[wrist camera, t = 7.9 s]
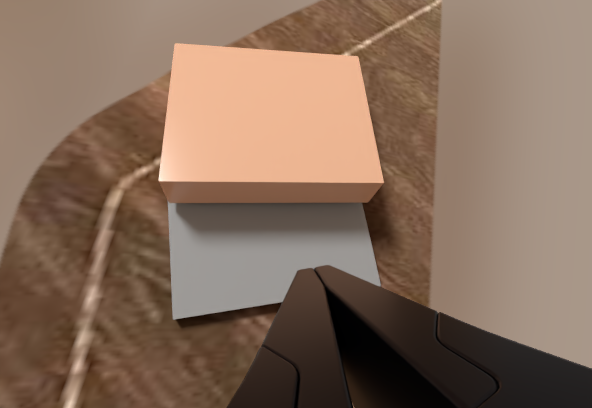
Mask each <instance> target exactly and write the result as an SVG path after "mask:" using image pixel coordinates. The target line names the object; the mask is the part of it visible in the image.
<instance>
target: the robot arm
mask: <svg viewBox="0 0 592 408" xmlns="http://www.w3.org/2000/svg"><path fill="white" fill-rule="evenodd" d="M351 400H352V401H351ZM352 402H353V405H354V407H355V408H592V369H591V368H588V367H586V366H583V365H580V364H577V363H574V362H571V361H569V360H566V359H563V358H560V357H557V356H554V355H552V354H549V353H546V352H543V351H540V350H537V349H534V348H532V347H529V346H526V345H523V344H520V343H517V342H515V341H512V340H509V339H506V338H503V337H501V336H498V335H496V334H493V333H490V332H487V331H485V330H482V329H479V328H477V327H475V326H472V325H470V324H467V323H465V322H462V321H460V320H458V319H455V318H453V317H451V316H448V315H446V314H444V313H441V312H439V313H437V311H435V310H433V309H430V308H428V307H426V306H423V305H421V304H419V303H416V302H414V301H412V300H410V299H407V298H405V297H403V296H400V295H398V294H396V293H393V292H391V291H389V290H386V289H384V288H382V287H379V286H377V285H375V284H372V283H370V282H368V281H365V280H363V279H361V278H358V277H356V276H354V275H351V274H349V273H347V272H344V271H342V270H340V269H337V268H335V267H333V266H330V265H324V266H318V267H315V268H314V269H313V268H307V269H301V270H298V271H297V272H296V275H295V277H294V279H293V281H292V283H291V285H290V287H289V289H288V291H287V293H286V296H285V298H284V300H283V302H282V304H281V306H280V308H279V310H278V312H277V314H276V316H275V319H274V321H273V323H272V325H271V327H270V329H269V331H268V333H267V335H266V337H265V339H264V342H263V344H262V346H261V348H260V349H259V351H258V353H257V355H256V357H255V359H254V361H253V363H252V365H251V367H250V369H249V371H248V373H247V375H246V376H245V378H244V380H243V382H242V384H241V385H240V387H239V388H238V390H237V392H236V393H235V395H234V396H233V398H232V400H231V401H230V403H229V404H228V406H227V408H353V405H352Z"/></svg>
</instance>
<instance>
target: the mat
mask: <svg viewBox="0 0 592 408" xmlns="http://www.w3.org/2000/svg"><path fill="white" fill-rule="evenodd" d="M168 215H169V238H170V262H171V286H172V309H173V320H175V319H181V318H187V317H194V316H200V315H206V314H212V313H218V312H224V311H231V310H237V309H243V308H249V307H255V306H262V305H268V304H274V303H280V302H283V300H284V298H285V296H286V293H287V291H288V289H289V287H290V285H291V283H292V281H293V279H294V277H295V275H296V272H297V271H298V270H301V269H307V268H313V269H314V268H315V267H318V266H324V265H330V266H333V267H335V268H337V269H340V270H342V271H344V272H347V273H349V274H351V275H354V276H356V277H358V278H361V279H363V280H365V281H368V282H370V283H372V284H375V285H377V286H381V283H380V279H379V275H378V270H377V266H376V262H375V257H374V253H373V248H372V244H371V240H370V235H369V231H368V227H367V222H366V218H365V213H364V209H363V205H362V203H169V202H168Z"/></svg>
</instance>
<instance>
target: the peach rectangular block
mask: <svg viewBox="0 0 592 408" xmlns="http://www.w3.org/2000/svg"><path fill="white" fill-rule="evenodd" d="M159 183H160V185H161V187H162V189H163V191H164V193H165V195H166V197H167V199H168V202H169V203H368V202H369V201H370V199H371V198H372V197H373V196H374V195H375V193H376V192H377V191H378V190H379V188H380V187H381V186H382V185H383V184H384V181H383V176H382V171H381V166H380V161H379V156H378V151H377V146H376V142H375V137H374V132H373V127H372V122H371V117H370V112H369V107H368V103H367V98H366V93H365V88H364V83H363V78H362V73H361V68H360V64H359V59H358V56H344V55H330V54H316V53H302V52H288V51H274V50H261V49H247V48H233V47H219V46H204V45H190V44H177V43H175V47H174V55H173V63H172V72H171V80H170V89H169V97H168V106H167V114H166V123H165V131H164V139H163V148H162V156H161V165H160V173H159Z"/></svg>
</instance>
